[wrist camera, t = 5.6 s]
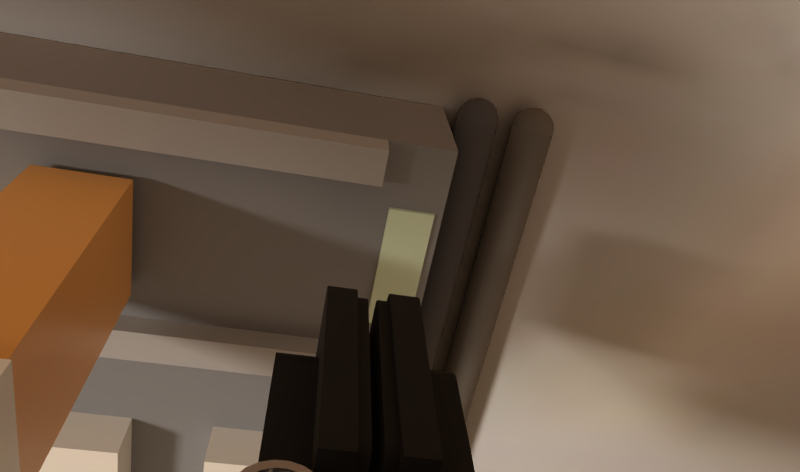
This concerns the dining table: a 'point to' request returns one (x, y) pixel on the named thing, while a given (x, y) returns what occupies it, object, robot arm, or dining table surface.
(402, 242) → the breaker panel
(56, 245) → the lever
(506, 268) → the dark brown grooved strip
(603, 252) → the dining table surface
